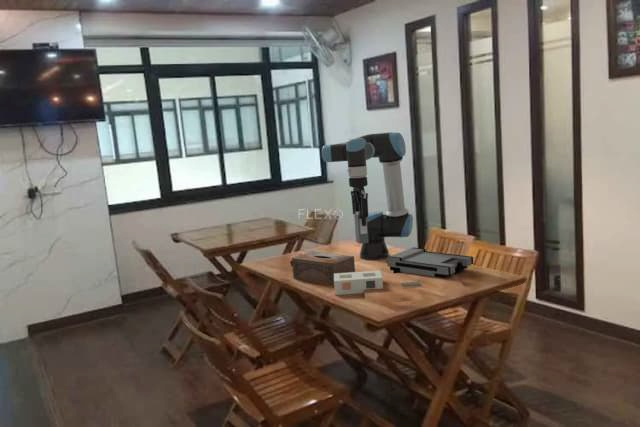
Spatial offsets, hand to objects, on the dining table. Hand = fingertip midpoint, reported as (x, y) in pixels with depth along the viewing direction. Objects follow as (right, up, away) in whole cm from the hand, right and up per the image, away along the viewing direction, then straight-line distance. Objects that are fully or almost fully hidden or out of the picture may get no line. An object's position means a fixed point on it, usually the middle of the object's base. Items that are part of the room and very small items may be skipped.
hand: (361, 232), depth 231 cm
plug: (0, -4, +1) cm, 4 cm away
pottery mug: (-26, -20, +49) cm, 59 cm away
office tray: (+33, -19, +23) cm, 45 cm away
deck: (+21, -23, 0) cm, 31 cm away
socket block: (-1, -24, +5) cm, 25 cm away
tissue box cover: (-15, -22, +28) cm, 39 cm away
